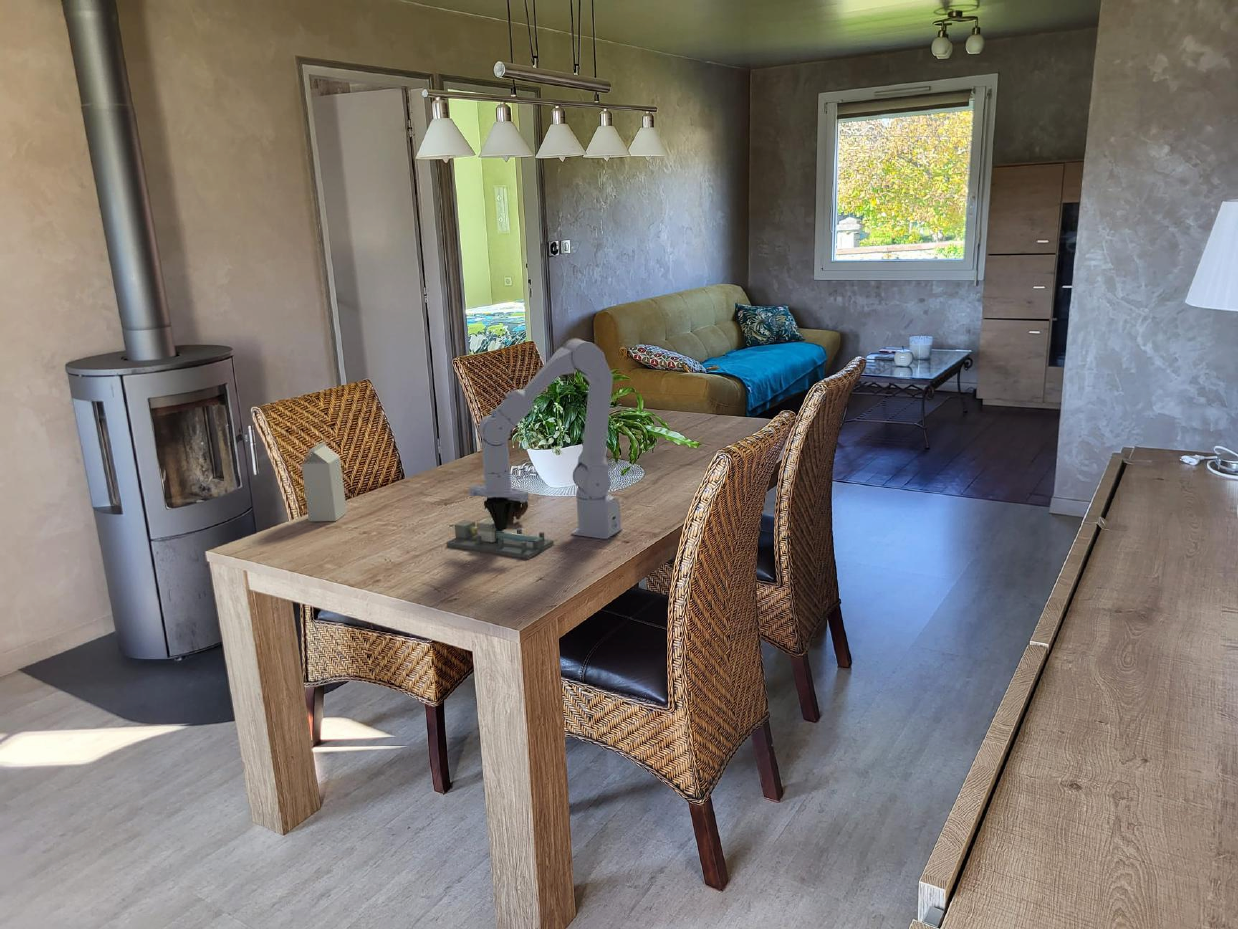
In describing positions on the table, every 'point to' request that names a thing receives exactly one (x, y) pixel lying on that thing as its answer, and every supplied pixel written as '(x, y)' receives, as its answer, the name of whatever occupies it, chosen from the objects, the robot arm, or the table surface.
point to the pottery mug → (516, 511)
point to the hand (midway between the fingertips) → (501, 529)
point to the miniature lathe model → (499, 542)
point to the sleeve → (486, 529)
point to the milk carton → (323, 484)
